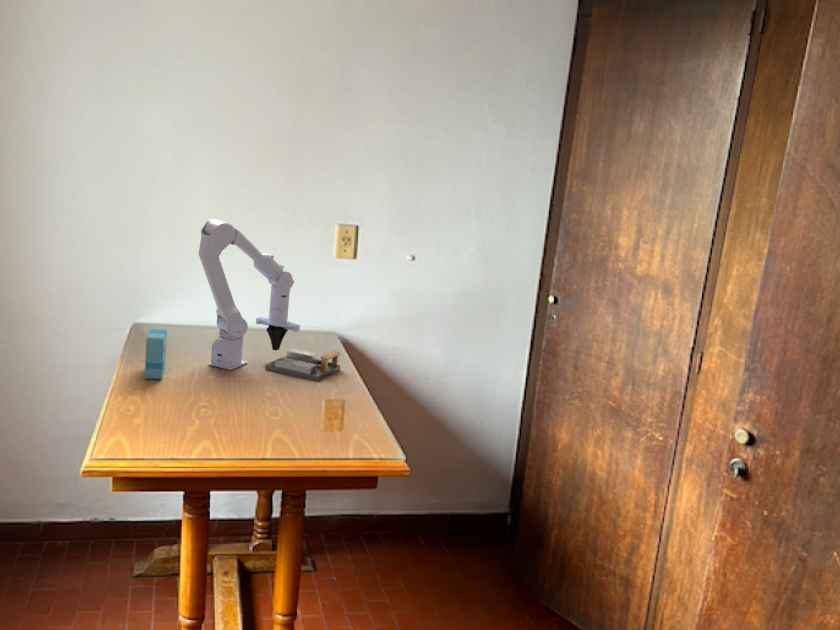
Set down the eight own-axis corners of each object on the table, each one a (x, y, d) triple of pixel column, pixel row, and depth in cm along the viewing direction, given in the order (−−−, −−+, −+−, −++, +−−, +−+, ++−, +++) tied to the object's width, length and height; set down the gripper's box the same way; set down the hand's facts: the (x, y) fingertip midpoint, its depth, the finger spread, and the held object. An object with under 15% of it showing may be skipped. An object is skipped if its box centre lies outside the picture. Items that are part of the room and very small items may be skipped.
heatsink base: (318, 381, 231) (319, 362, 230) (265, 369, 237) (266, 350, 236) (340, 370, 245) (341, 352, 244) (289, 358, 251) (291, 341, 249)
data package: (161, 381, 216) (163, 339, 213) (144, 380, 214) (146, 338, 212) (164, 368, 227) (166, 328, 224) (148, 367, 226) (150, 327, 223)
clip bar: (311, 365, 240) (312, 356, 240) (286, 359, 243) (287, 350, 243) (317, 363, 244) (318, 353, 243) (291, 357, 247) (292, 348, 246)
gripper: (305, 309, 245) (302, 351, 248) (265, 301, 249) (262, 342, 252) (294, 313, 238) (291, 356, 241) (253, 305, 243) (250, 347, 246)
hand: (275, 349), depth 246 cm, fingers closed
